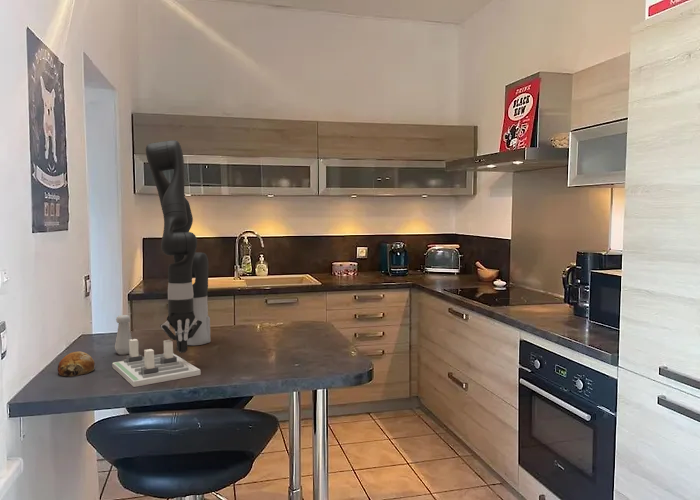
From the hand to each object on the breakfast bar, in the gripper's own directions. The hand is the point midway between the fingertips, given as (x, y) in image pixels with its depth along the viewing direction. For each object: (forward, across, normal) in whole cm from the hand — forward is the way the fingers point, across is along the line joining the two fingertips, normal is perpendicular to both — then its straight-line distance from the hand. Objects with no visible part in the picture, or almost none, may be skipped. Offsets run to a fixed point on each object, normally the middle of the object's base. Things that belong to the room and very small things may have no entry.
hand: (181, 352), depth 173 cm
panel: (+5, +8, 0) cm, 9 cm away
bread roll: (+5, +28, -14) cm, 31 cm away
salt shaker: (+5, +10, -28) cm, 30 cm away
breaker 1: (+3, +12, -8) cm, 15 cm away
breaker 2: (+3, +12, +8) cm, 15 cm away
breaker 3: (+3, +4, 0) cm, 5 cm away
